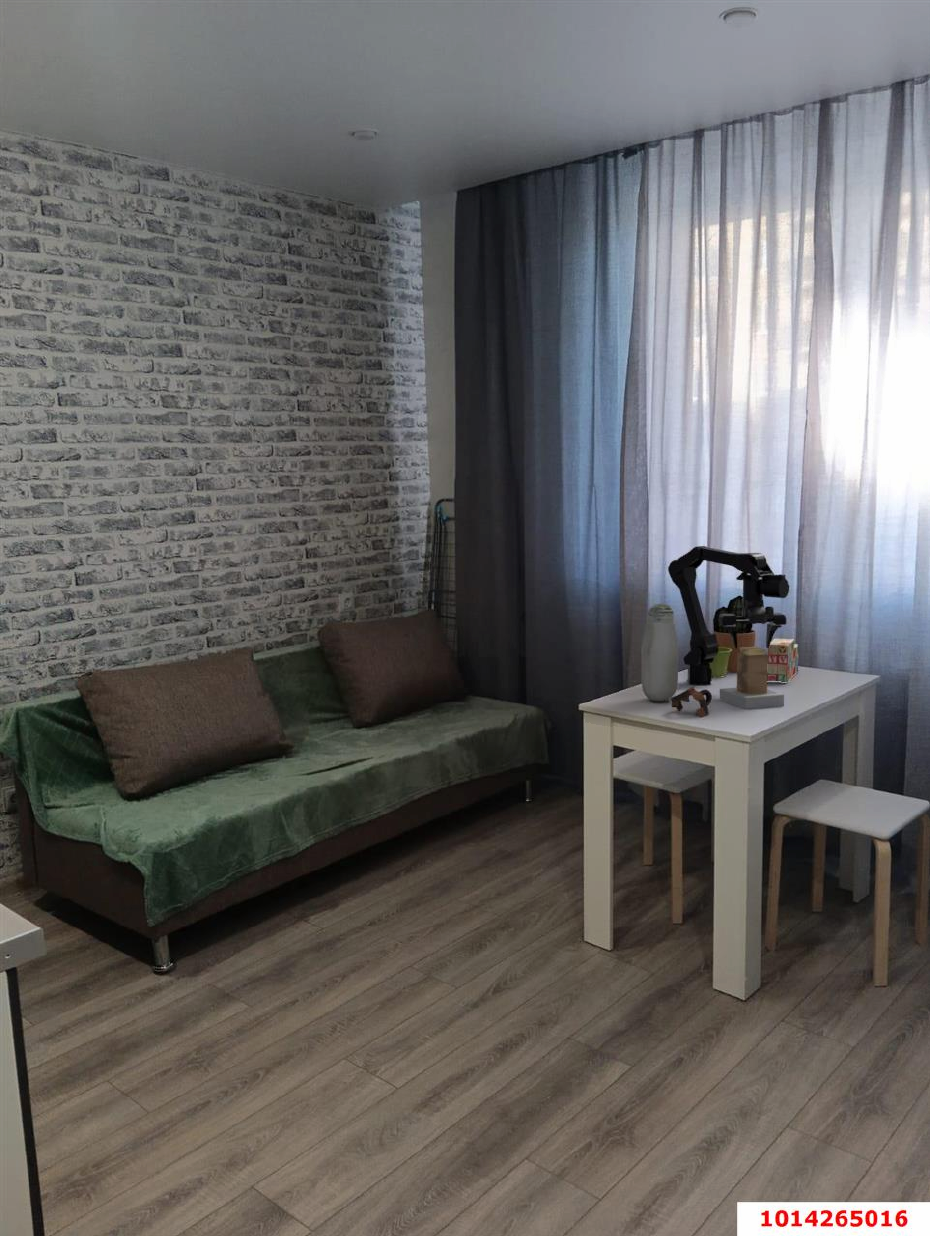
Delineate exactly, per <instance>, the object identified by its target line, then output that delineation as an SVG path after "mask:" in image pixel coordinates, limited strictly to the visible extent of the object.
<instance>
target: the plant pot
mask: <svg viewBox="0 0 930 1236" xmlns="http://www.w3.org/2000/svg"><path fill="white" fill-rule="evenodd" d="M731 651H732V649H730V648H725V647H718V653H717V655H716V656H715V657H714V660H713V662H712V663H709V664H710V668H711V669H712V677H714V678H722V677H721V676H724V677H725V675H726V676H727V673H728V672H727V666H728V660H729V656H730V652H731Z"/></svg>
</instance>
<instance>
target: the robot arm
mask: <svg viewBox="0 0 930 1236" xmlns="http://www.w3.org/2000/svg"><path fill="white" fill-rule="evenodd" d="M704 561H705V562H706V561H707V562H711V563H714V564H715V563H716V564H721V565H726V566H729V567H733V568H735V569H736V570H737V571H739V572H741V573H740V574H739V575H738V576H737V577H736V581H742V597H743V598H742V602H743V612H742V616H735V615H733V614H721V615H720V616H719V623H720V624H721V625H723V626H724V627H726V628H727V629H728V631H729V633H730V635H731V637H732V640H733V643H734V646H735V648H736V649H737V626H735V623H741V622H750V623H751V624H753V625H756V624H762V625H765V624H766V637H765V646H766V647H765V649H768V648H769V645H770V643H771V642H772V641H773V637H774V635H775V633H776V631H777V630H778V629H779V628H782V625H783V626H785V625H787V617H786V615H785V614H783V613H781V612H775V611H774V610H775V609H774V607H773V606H766V607H765V606H764V605H765V604H764V598H763V597H765V598H777V599H786V598H787V596H788V595H789V592H790V585H789V581H788V579H786V574H782V573H781V574H775V573H774V571H773V570H772V569H771V567H770V565H769V564H768V562H767V559H766V557H765V555H764V554H763V553H760V552H744V553H743V552H739V553H738V552H733V551H729V550H728V551H727V550H723V549H718V548H714V547H713V548H712V547H707V546H706V545H700V546H694V547H693V548H692V549H690V550H689V551H688V552H685V554H682V555H681V556H679V557H678V558H677V559H674V560H671V562H670V563H669V565H668V567H667V568H668V569H667V570H668V574H669V576H670V578H671V580H672V583H673V584H674V585H675V586H676V588H677V589H678V590H679V592H680V593H679V594H680V596H681V600H682V604H683V608H684V610H685V615H686V619H687V622H688V625H689V629H690V633H691V635H690V640H689V648H690V649H689V650H690V651H688V653H687V654H686V655H685V656H684V657H683V659H682V660H683V662H684V665H687V679H686V682H687V684H689V685H690V686H696V685H697V686H698V685H702V686H703V685H706V686H707V685H709V686H710V685H712V681H713V680H712V677H713V676H712V669H711V668H710V664H709V663H712V662H713V660H714V657H715V656H716V655H717V653H718V646H719V644H718V642H717V637H716V634H715V633H714V634H713V633H711V632H710V631H709V629H708V628H707V624H706V620H705V617H704V613H703V609H702V607H701V603H700V599H699V595H698V592H697V589H696V581H697V569H698V568H699V567H701V565H702V563H703V562H704ZM774 612H775V613H774ZM746 618H748V619H746Z"/></svg>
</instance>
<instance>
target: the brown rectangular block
mask: <svg viewBox="0 0 930 1236" xmlns="http://www.w3.org/2000/svg"><path fill="white" fill-rule="evenodd" d="M767 670H768V653H766V648H762V647H758V646H754V647H742V648H740V653H737V672H736V688H737V691H739V692H742V693H745V694H747V695H751V694H763V693H767V690H768V682H767Z"/></svg>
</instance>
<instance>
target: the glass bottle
mask: <svg viewBox="0 0 930 1236" xmlns="http://www.w3.org/2000/svg"><path fill="white" fill-rule="evenodd" d="M646 615H647V618H646V619H647V620H646V625H645V630H644V634H643V637H642V642H641V648H640V649H641V653H640V656H641V657H640V658H641V687H642V691H643V693H644V696H645V697H646V698H647V699H648V700H650V701H654V702H659V703H660V702H665V701H669V700H670V699H671V698H672V697H674V696H675V694H676V693H677V690H678V684H679V660H680V659H679V658H680V657H679V654H680V653H679V652H680V648H679V647H680V646H679V641H678V635H677V631H676V626H675V613H674V610H673V607H671V605H669V604H667V603H658V604H657V603H656V604H654V605H652V606H651V607H649V609H648V611H647V614H646Z"/></svg>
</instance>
